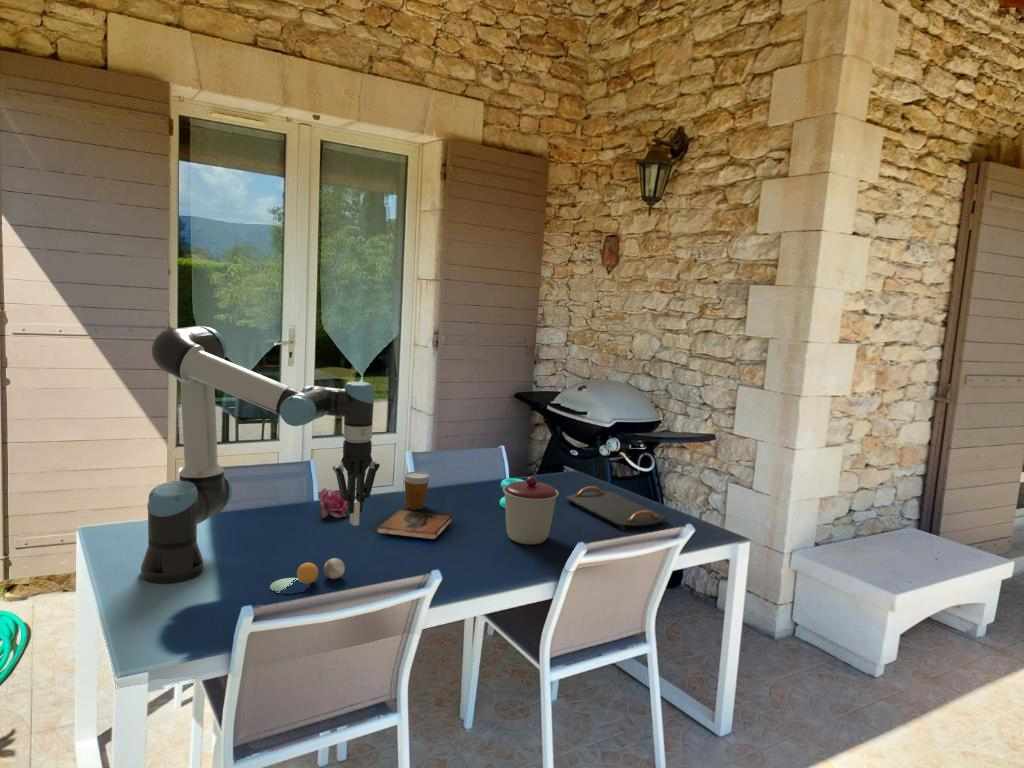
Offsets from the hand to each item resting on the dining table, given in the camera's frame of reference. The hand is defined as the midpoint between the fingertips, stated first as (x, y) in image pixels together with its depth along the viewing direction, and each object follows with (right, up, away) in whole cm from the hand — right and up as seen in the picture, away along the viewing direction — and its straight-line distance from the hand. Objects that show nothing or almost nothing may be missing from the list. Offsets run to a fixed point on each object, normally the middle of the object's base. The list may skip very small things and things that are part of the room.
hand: (354, 523), depth 195 cm
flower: (-18, -7, +48) cm, 52 cm away
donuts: (+43, -8, +71) cm, 83 cm away
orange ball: (-11, -12, -6) cm, 17 cm away
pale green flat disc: (-15, -15, -8) cm, 23 cm away
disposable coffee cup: (+8, -6, +62) cm, 63 cm away
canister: (+48, -13, +38) cm, 63 cm away
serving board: (+81, -11, +72) cm, 109 cm away
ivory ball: (-5, -12, -2) cm, 13 cm away
